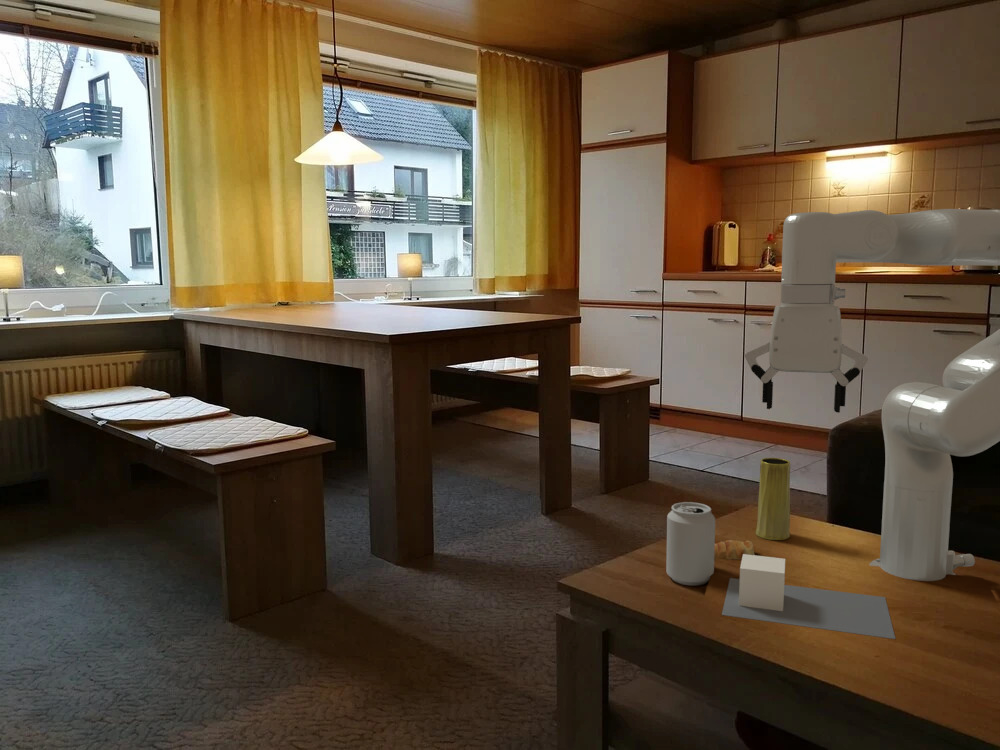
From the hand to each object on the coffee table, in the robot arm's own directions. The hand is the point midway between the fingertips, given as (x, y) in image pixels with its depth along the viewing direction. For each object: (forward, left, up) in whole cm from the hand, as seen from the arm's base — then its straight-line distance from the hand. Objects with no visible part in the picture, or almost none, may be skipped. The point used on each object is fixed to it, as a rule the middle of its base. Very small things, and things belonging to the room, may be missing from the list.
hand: (802, 409), depth 120 cm
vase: (-8, -23, -28) cm, 37 cm away
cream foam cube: (+9, +7, -27) cm, 29 cm away
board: (+4, +10, -28) cm, 30 cm away
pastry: (+5, -12, -29) cm, 32 cm away
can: (+15, -6, -28) cm, 33 cm away
